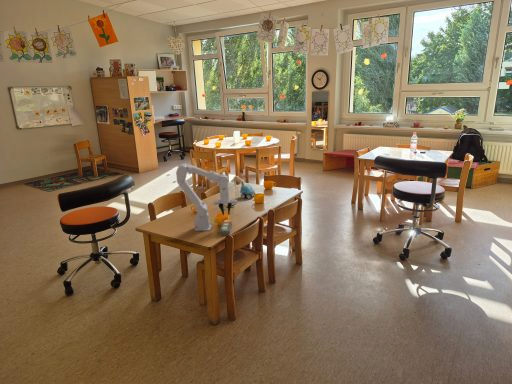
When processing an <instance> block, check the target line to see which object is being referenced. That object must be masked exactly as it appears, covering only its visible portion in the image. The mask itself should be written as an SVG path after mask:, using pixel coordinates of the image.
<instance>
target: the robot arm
mask: <svg viewBox="0 0 512 384" xmlns="http://www.w3.org/2000/svg"><path fill="white" fill-rule="evenodd" d="M175 174H176V183H177V185H178V186H179V187H180V189H182V191H183V193H184V194H185V195H186V197H187V198H188V200H189V201H190V202H191V203H192V204H193V206H194V210H195V211H196V214H195V215H194V217H193V223H194V231H195V232H198V231H199V232H200V231H204V232H205V231H210V230H211V227H212V224H211V222H210V213H209V212H208V211H209V207H208V204H207V203H205V202H204V201H203V200H202V199H201V198H200V197H199V196H198V195H197V193H196V192H195V190H194V189H193V188H192V186H191V185H190V183H188V181H187V175H191V174H195V175H200V176H202V177H205V178H206V179H207V180H209V181H210V182H214V183H217V184H218V185H219V198H220V199H218V200H213V205H218V207H219V210H220V211H221V214H222V215H223V216H224V215H225V210H224V209H225V207H224V205H227V214H228V215H231V214H230V213H231V208H232V205H233V204H235V205H237V204H238V200H237V199H230V187H229V177H228V176H227V175H226V174H224V173H223V174H222V173H218V172H216V171H215V170H204V169H203V168H200V167H197V166H195V165H193V164H191V163H190V164H189V163H186V162H181V163H180V164H179V166H178V168H177V169H176V171H175Z"/></svg>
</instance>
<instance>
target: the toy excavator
mask: <svg viewBox="0 0 512 384" xmlns="http://www.w3.org/2000/svg"><path fill="white" fill-rule="evenodd" d="M233 182H234V183H237V182H239V183H240V184H241V186H240V190H239V193H240V198H241V199H246V198H247V199H248V200H251V199H252V198H253V196H254V195H255V196H256V192H255V190H254V189H253V187H252V185H251V184H248V183H247V184H245V181H244V180H243V179H242V178H240V177H239V175H236V176H234V177H233ZM255 196H254V197H255Z"/></svg>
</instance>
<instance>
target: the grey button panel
mask: <svg viewBox="0 0 512 384" xmlns="http://www.w3.org/2000/svg"><path fill="white" fill-rule="evenodd" d="M229 222H230V224H228V225H229V227H228V228H227V229H228V231H222V227H223V224H224V221H222V222H221V226H220V228H219V236H230V234H231V232H232V228H233V221H229Z"/></svg>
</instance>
